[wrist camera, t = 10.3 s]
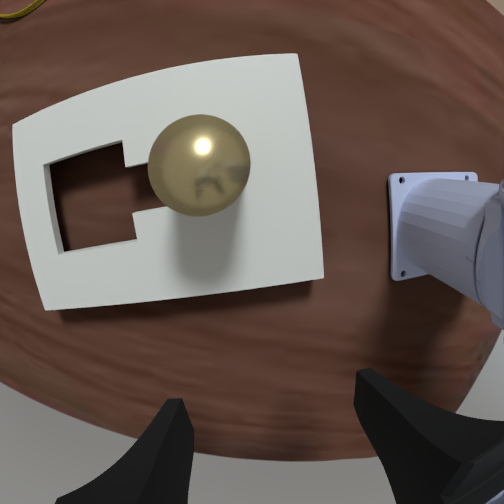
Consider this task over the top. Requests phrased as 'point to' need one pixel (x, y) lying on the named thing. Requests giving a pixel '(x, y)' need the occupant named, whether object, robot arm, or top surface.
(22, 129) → the keyhole plate
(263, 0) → the top surface
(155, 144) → the gold cylindrical piece
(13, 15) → the yellow coiled cable
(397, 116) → the top surface
